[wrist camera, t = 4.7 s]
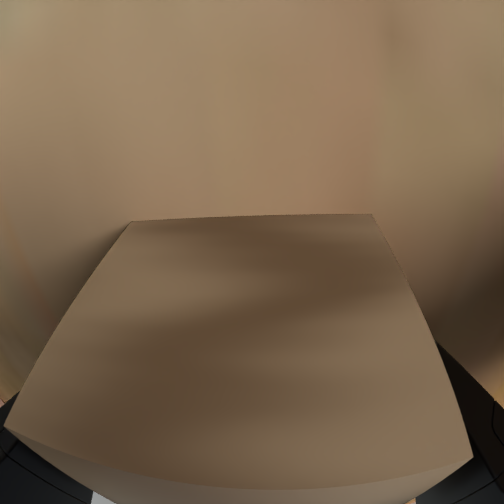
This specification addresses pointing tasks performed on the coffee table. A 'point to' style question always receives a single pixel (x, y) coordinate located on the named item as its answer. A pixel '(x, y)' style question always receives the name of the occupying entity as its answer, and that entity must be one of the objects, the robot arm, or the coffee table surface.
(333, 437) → the walnut block
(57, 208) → the coffee table surface
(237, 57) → the coffee table surface
